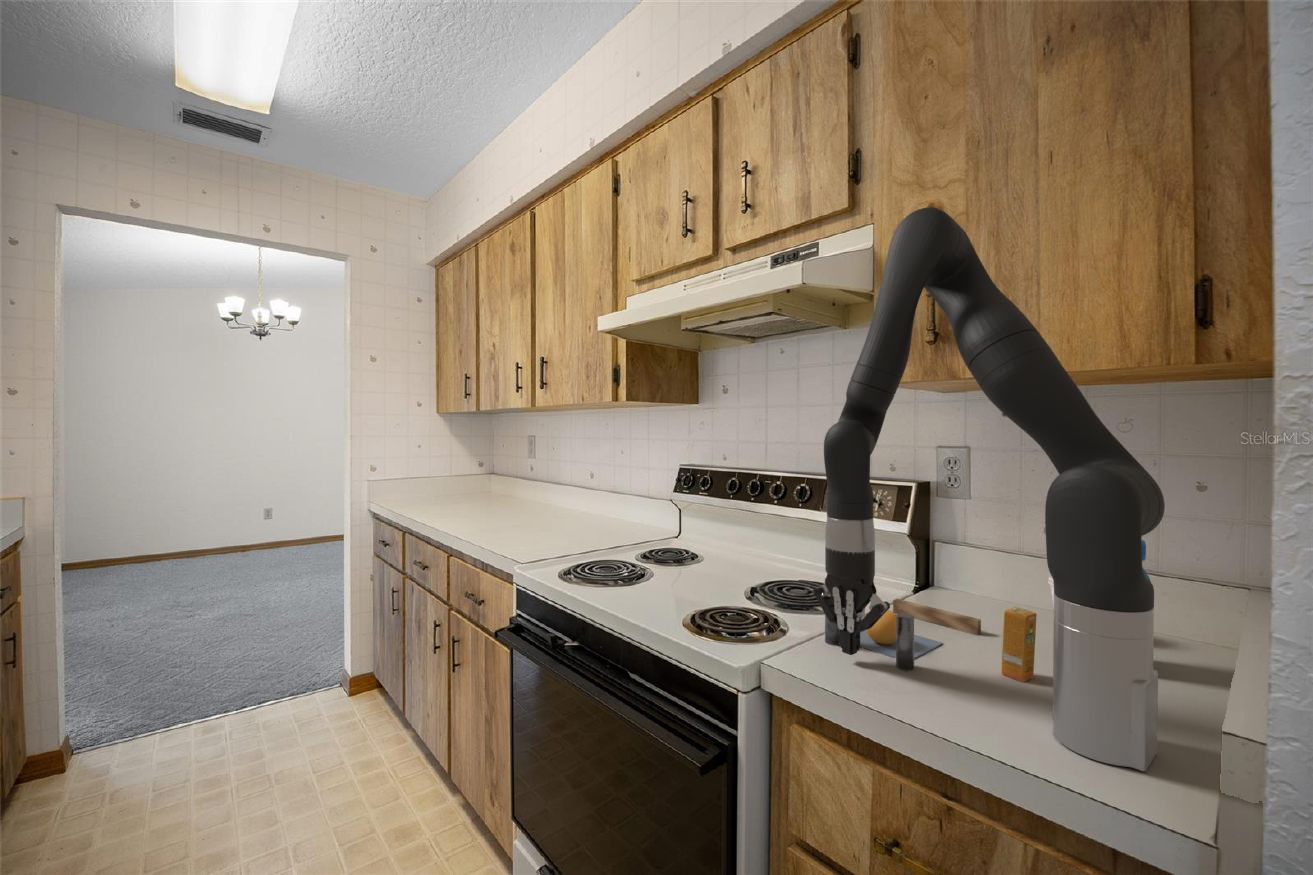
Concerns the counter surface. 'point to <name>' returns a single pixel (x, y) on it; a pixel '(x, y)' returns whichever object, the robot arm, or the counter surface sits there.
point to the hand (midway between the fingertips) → (849, 652)
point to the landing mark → (920, 645)
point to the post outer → (831, 633)
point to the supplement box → (1018, 643)
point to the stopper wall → (938, 616)
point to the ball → (884, 629)
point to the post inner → (905, 641)
